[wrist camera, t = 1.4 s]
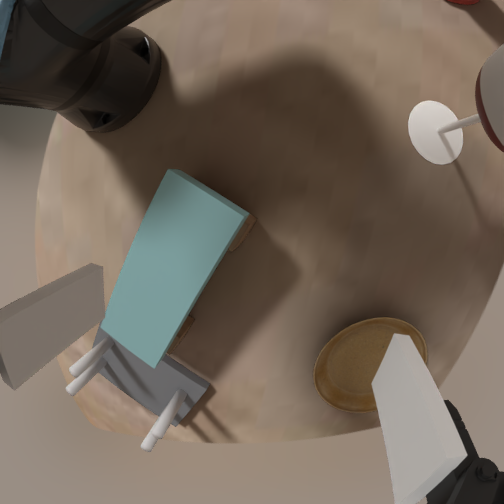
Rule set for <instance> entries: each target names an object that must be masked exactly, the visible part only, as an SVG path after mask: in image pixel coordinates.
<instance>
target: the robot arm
mask: <svg viewBox="0 0 504 504" xmlns="http://www.w3.org/2000/svg"><path fill="white" fill-rule="evenodd" d="M169 1H171V0H0V104H3V105H14V106H23V107H32V108H40V109H48V110H53V111H56V112H58V113H59V114H61V115H62V116H63V117H65V118H66V119H67V120H69V121H70V122H71V123H73V124H74V125H75V126H77V127H79V128H81V129H83V130H87V131H93V132H108V131H112V130H115V129H117V128H119V127H121V126H123V125H125V124H126V123H128V122H129V121H130V120H131V119H133V118H134V117H135V116H136V115H137V114H138V113H139V112H140V111H141V109H142V108H143V107H144V106H145V104H146V103H147V102H148V100H149V98H150V97H151V95H152V93H153V91H154V89H155V87H156V84H157V82H158V78H159V75H160V69H161V56H160V51H159V48H158V46H157V44H156V43H155V42H154V40H153V39H152V38H150V37H149V36H148V35H147V34H145V33H144V32H143V31H141V30H139V29H137V28H134V27H129V26H127V25H129V24H130V23H132V22H134V21H135V20H137V19H139V18H140V17H142V16H144V15H145V14H147V13H149V12H151V11H152V10H154V9H156V8H158V7H160V6H162V5H164V4H165V3H167V2H169ZM104 318H105V305H104V282H103V267H102V266H99V265H96V264H93V263H90V264H88V265H86V266H84V267H82V268H80V269H78V270H76V271H74V272H72V273H70V274H67V275H65V276H63V277H61V278H59V279H57V280H55V281H53V282H51V283H49V284H47V285H45V286H43V287H41V288H39V289H38V290H36V291H34V292H32V293H30V294H28V295H26V296H24V297H22V298H20V299H18V300H16V301H14V302H13V303H11V304H9V305H7V306H5V307H3V308H1V309H0V373H1V376H2V378H3V381H4V382H5V383H6V384H7V385H9V386H10V387H11V388H12V389H14V390H16V389H17V388H18V387H19V386H21V385H22V384H23V383H24V382H26V381H27V380H28V379H29V378H30V377H32V376H33V375H34V374H35V373H36V372H38V371H39V370H40V369H41V368H43V367H44V366H45V365H46V364H47V363H49V362H50V361H51V360H52V359H54V358H55V357H56V356H57V355H59V354H60V353H61V352H62V351H64V350H65V349H66V348H67V347H69V346H70V345H71V344H72V343H74V342H75V341H76V340H77V339H79V338H80V337H81V336H83V335H84V334H85V333H86V332H88V331H89V330H90V329H91V328H93V327H94V326H95V325H97V324H98V323H99V322H101V321H102V320H103V319H104ZM371 384H372V388H373V392H374V396H375V400H376V405H377V409H378V413H379V418H380V422H381V427H382V432H383V436H384V442H385V447H386V452H387V457H388V463H389V469H390V475H391V481H392V487H393V494H394V501H395V504H417V503H418V502H419V501H420V500H421V499H423V498H424V497H425V496H426V498H427V502H428V503H427V504H504V472H500V471H499V470H498V468H497V466H496V465H495V464H494V463H493V462H492V461H491V460H489V459H486V458H479V456H478V454H477V452H476V449H475V447H474V445H473V443H472V440H471V438H470V436H469V433H468V431H467V429H465V425H464V423H463V421H461V420H462V418H461V416H460V414H459V412H458V410H457V409H456V408H455V407H454V406H453V404H452V403H451V402H450V401H449V400H443V398H442V397H441V394H440V393H439V390H438V388H437V386H436V384H435V382H434V380H433V378H432V376H431V374H430V373H429V371H428V369H427V367H426V365H425V363H424V361H423V359H422V357H421V356H420V354H419V352H418V350H417V348H416V347H415V345H414V343H413V341H412V339H411V338H410V336H409V335H402V334H396V333H394V335H393V337H392V340H391V342H390V344H389V347H388V349H387V351H386V353H385V356H384V358H383V360H382V362H381V364H380V367H379V369H378V371H377V373H376V375H375V377H374V379H373V381H372V383H371Z"/></svg>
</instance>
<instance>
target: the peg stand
mask: <svg viewBox="0 0 504 504" xmlns="http://www.w3.org/2000/svg"><path fill="white" fill-rule="evenodd" d="M102 321H103V320H102ZM102 321H101V322H100V325H99V328H98V331H97V334H96V337H95V341H94V344H93V347H92V349H91V350H90V351H89V352H88V353H87V354H85V355H84V356H83V357H82V358H81V359H80V360H78V361H77V362H76V363H75V364H74V365H72V366H71V367H70V368H69V371H70V373H71V374H72V375H73V376H74V377H75V378H76V379H75V380H74V381H72V382H71V383H70V384H69V385H68V386H67V387H66V390H67V392H68V393H69V394H70V395H71V396H74V395H75V394H76V393H77V392H78V391H79V390H80V389H81V388H82V387H84V386H85V385H86V384H87V383H88V382H89V381H90V380H91V379H92V378H93V377H94V376H95V375H96V374H97V373H98V372H99V373H100V374H101V375H102V376H104V377H105V378H106V379H107V380H109V381H110V382H111V383H113V384H114V385H115V386H116V387H118V388H119V389H120V390H122V391H123V392H124V393H126V394H127V395H129V396H130V397H131V398H133V399H134V400H136V401H137V402H138V403H140V404H141V405H143V406H144V407H146V408H147V409H149V410H150V411H152V412H153V413H155V414H156V415H158V416H159V418H158V419H157V421H156V422H155V424H154V425H153V427H152V429H151V430H150V432H149V433H148V435H147V436H146V438H145V439H144V441H143V443H142V444H141V448H142V449H143V450H145V451H147V452H151V450H152V449H153V447H154V445H155V444H156V442H157V440H158V439H162V438H163V436H164V434H165V433H166V431H167V429H168V427H169V426H170V424H172V425H174V426H175V427H176V426H177V425H178V424H179V423H180V421H181V420H182V419H183V418H184V417H185V416H186V414H187V413H188V412H189V411H190V410H191V408H192V407H193V406H194V405H195V404H196V402H197V401H198V400H199V399H200V397H201V396H202V395H203V394H204V393H205V391H206V390H207V388H208V386H209V384H210V383H209V382H207V381H206V380H204V379H202V378H201V377H199V376H198V375H196V374H194V373H193V372H191V371H190V370H188V369H187V368H185V367H184V366H182V365H181V364H179V363H178V362H176V361H175V360H173V359H172V358H170V357H169V356H167V355H166V354H165V356H164V357H163V359H162V360H161V361H160V362H159V364H158V365H157V366H156V367H155V369H154V368H153V367H151V366H150V365H148V364H147V363H146V362H144V361H143V360H141V359H140V358H139V357H137V356H136V355H135V354H133V353H132V352H131V351H129V350H128V349H127V348H125V347H124V346H123V345H122V344H120V343H119V342H118V341H117V340H115V339H114V338H113V337H112V336H110V335H109V334H108V333H107V332H105V331H104V330H103V329H102V328H101V324H102Z"/></svg>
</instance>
